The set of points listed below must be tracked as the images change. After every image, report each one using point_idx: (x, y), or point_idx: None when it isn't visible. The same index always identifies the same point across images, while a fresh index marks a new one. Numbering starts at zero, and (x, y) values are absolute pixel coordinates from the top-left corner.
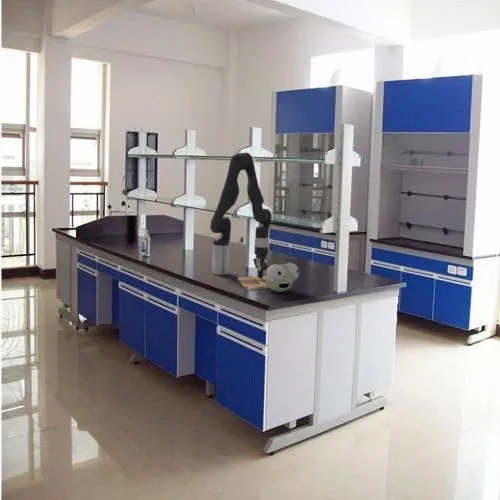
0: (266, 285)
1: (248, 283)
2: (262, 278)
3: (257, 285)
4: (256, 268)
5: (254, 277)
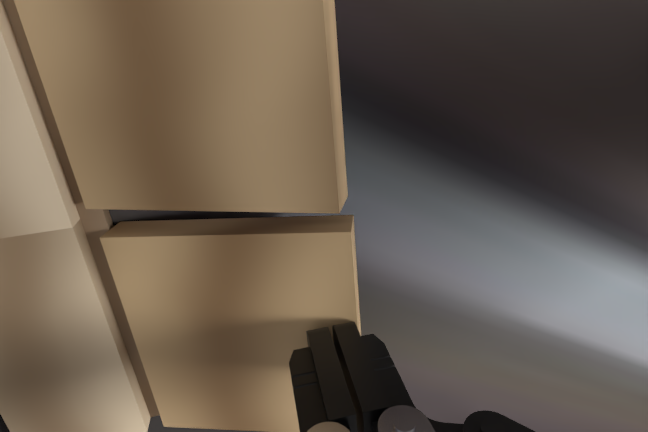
0: (2, 303)
1: (88, 12)
2: None
3: (15, 163)
4: (470, 415)
5: (341, 253)
